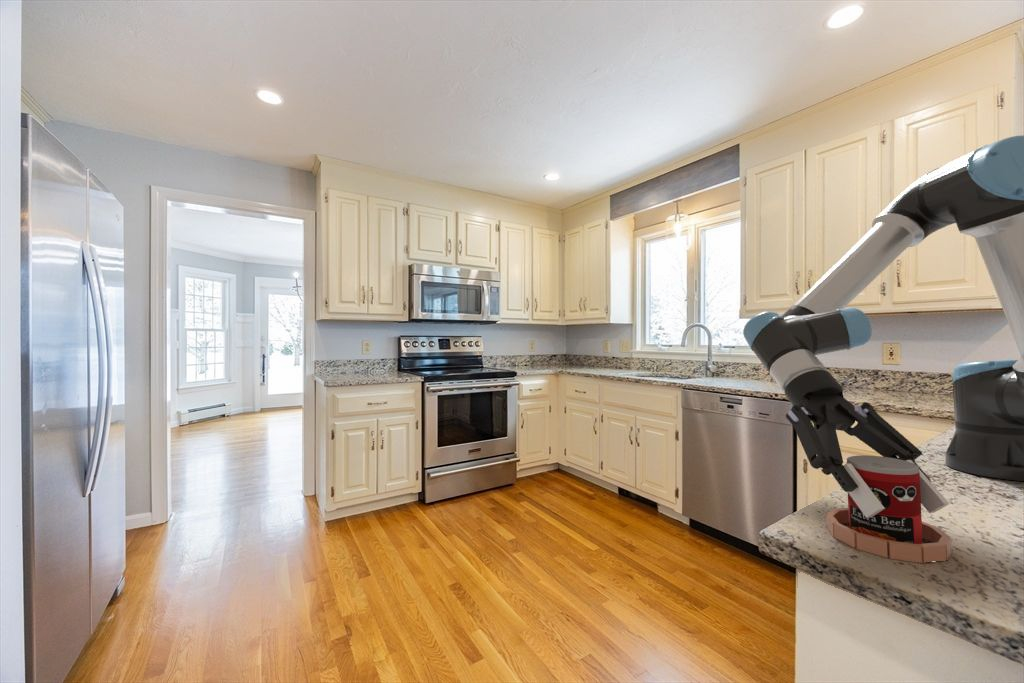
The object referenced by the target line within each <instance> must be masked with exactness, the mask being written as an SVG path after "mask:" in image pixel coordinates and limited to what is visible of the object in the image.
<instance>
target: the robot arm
mask: <svg viewBox="0 0 1024 683" xmlns="http://www.w3.org/2000/svg"><path fill="white" fill-rule="evenodd" d="M952 224H956V227H957V229H958V231H959V233H961V234H964V235H967V236H971V237H973V238H974V240H975V242H976V245H977V247H978V249H979V252H980V255H981V257H982V260H983V262H984V264H985V267H986V269H987V270H986V271H987V272H988V275H989V277H990V280H991V283H992V284H993V285H992V286H993V287H994V290H995V292H996V296H997V298H998V301H999V304H1000V306H1001V307H1002V310H1003V313H1004V316H1005V318H1006V321H1007V323H1008V326H1009V328H1010V331H1011V333H1012V336H1013V338H1014V341H1015V344H1016V345H1017V346H1016V347H1017V349H1018V352H1019V354H1020V358H1019V359H1007V360H1006V359H1005V360H1002V359H1001V360H991V361H989V360H988V361H987V360H986V361H975V362H974V361H973V362H964V363H960V364H958V365H956V366H955V367H954V368H953V375H952V376H953V378H952V381H951V384H952V395H953V396H952V397H953V409H954V410H953V411H954V425H955V426H954V433H953V436H952V438H951V440H950V443H949V444H948V447H947V449H946V451H945V453H944V454H945V455H944V458H945V459H944V460H945V466H946V467H949V468H951V469H954V470H956V471H960V472H964V473H968V474H974V475H977V476H983V477H989V478H993V479H994V478H995V479H1001V480H1009V481H1018V482H1024V134H1022V135H1014V136H1009V137H1006V138H1005V137H1004V138H1003V139H1000V140H998V141H994V142H992V143H990V144H985V145H984V146H982V147H980V148H978V149H975V150H974V151H971V152H969V153H967V154H965V155H963V156H961V157H959V158H957V159H955V160H953V161H950V162H948V163H947V164H944V165H942V166H940V167H938V168H937V167H936V168H935V169H933V170H931V171H929V172H927V173H925V174H924V175H921V176H920V177H919V178H917V179H916V180H915V181H913V182H912V183H910V185H909V186H907V188H905V189H904V190H903V191H902V192H901V193H899V195H897V196H896V197H895V198H894V199H893V200H892V201H891V202H890V203H889V204H888V205H887V206H886V207H885V208H884V209H883V210H882V211H881V212H880V213H879V214H878V215H877V216H876V217H875V218H874V219H873V220H872V223H871V229H869V231H868V232H866V234H864V236H862V237H861V239H859V241H857V243H856V244H854V246H852V247H851V249H849V250H848V251H847V252H846V254H845V253H844V255H843V256H842V257H841V258H840V259H839V260H838V261H837V262H836V263H835V264H834V265H833V266H832V267H831V268H829V270H828V271H827V272H826V273H825V274H824V275H822V277H821V278H820V279H819V280H818V281H816V283H815V284H814V285H813V286H811V287H810V289H808V290H807V291H806V292H805V293H804V294H803V295H802V296H801V297H800V298H799V299H798V300H797V301H796V302H795V303H794V304H793V305H792V306H791V307H789V309H787V311H786V312H784V313H783V314H782V315H780V314H779V313H777V312H773V311H763V312H760V313H758V314H756V315H754V316H753V317H752V318H750V319H749V320H748V321H747V322H746V324H745V325H744V326H743V330H742V334H743V337H744V339H745V341H746V342H747V344H748V346H749V348H750V349H751V351H752V352H753V353H754V354H755V356H756V357H757V358H758V359H759V361H760V363H761V364H762V366H764V368H765V369H766V371H768V373H769V374H770V376H771V377H772V379H773V380H774V381H775V382H776V384H777V385H778V386H779V388H780V390H782V391H783V392H784V395H785V397H786V398H787V400H788V401H789V402H790V404H791V405H792V407H791V408H790V409H789V411H788V412H787V413H786V414H785V418H786V419H787V421H788V422H789V423H790V424H791V426H793V428H794V431H795V433H796V435H797V437H798V439H799V442H800V444H801V446H802V449H803V450H804V453H805V456H806V457H807V459H808V462H809V465H810V466H811V467H812V468H813V469H815V470H819V469H820V468H821V469H820V470H821V472H822V473H823V474H824V475H825V476H829V475H832V476H833V478H834V479H835V481H836V482H837V484H838V485H839V486H840V488H841V490H843V491H844V492H845V493H847V494H848V493H849V494H850V496H851V497H852V499H853V500H854V501H855V503H856V504H857V506H858V507H859V508H860V510H861V511H862V513H863V514H864V515H865V517H866V518H870V517H873V516H874V515H876V514H877V513H879V512H880V511H882V510H883V509H885V508H884V507H883V505H882V504H881V503H880V501H879V500H878V499H877V497H876V496H875V495H874V494H873V492H872V491H871V490H870V488H869V487H868V486H867V484H866V483H865V482H864V480H863V479H862V478H861V476H860V475H859V474H858V472H857V471H856V470H855V468H854V467H853V466H852V464H851V463H850V464H846V463H845V464H844V460H843V454H842V451H841V447H840V443H839V442H840V441H839V437H838V434H837V431H842V432H844V433H845V434H847V435H849V436H854V437H855V438H857V439H858V440H860V441H861V442H863V443H864V444H865V445H867V446H868V447H869V448H870V449H872V450H873V451H875V452H876V453H877V454H879V455H881V457H888V458H895V459H900V460H904V461H908V462H911V463H913V464H915V465H917V466H918V467H919V472H920V490H921V506H923V507H924V509H925V510H926V511H927V512H928V513H929V514H933V513H936V512H938V511H939V510H941V509H943V508H945V507H947V506H949V505H950V502H949V501H948V500H947V499H946V498H945V496H944V495H943V494H942V493H941V492H940V491H939V489H937V487H936V486H935V485H934V484H933V483H932V480H931V479H930V477H929V476H928V475H927V474H926V473H925V472H924V470H923V469H922V468H921V467H920V466H919V465H918V464H917V462H916V460H917V459H918V458H919V457H921V456H922V455H923V452H922V451H921V450H920V449H919V448H918V447H917V446H916V445H915V444H913V443H912V442H911V441H910V440H909V439H908V438H906V437H905V436H904V435H903V434H902V433H901V432H900V431H898V430H897V429H896V428H894V427H893V426H892V425H891V424H890V423H889V422H888V421H887V420H886V419H885V418H883V417H882V416H881V415H880V414H878V412H877V411H876V409H875V408H874V407H873V406H872V404H870V403H869V402H863V403H862V404H861V405H858V404H857V405H855V404H853V403H852V402H850V401H849V400H847V399H846V398H845V397H844V393H843V391H844V390H843V386H842V385H841V384H840V382H838V380H837V379H836V378H835V377H834V376H833V375H832V373H831V372H830V371H828V370H827V367H826V366H825V365H824V364H823V362H822V361H821V360H820V359H819V358H818V357H817V355H822V354H823V355H824V354H829V353H834V352H838V351H845V350H847V351H849V350H851V349H853V348H857V347H861V346H864V345H866V344H867V343H868V342H869V341H870V339H871V337H872V333H873V328H872V325H871V320H870V318H869V317H868V316H867V314H866V312H864V311H862V310H861V309H860V308H856V307H847V306H848V305H849V304H850V303H852V301H853V300H855V298H856V297H857V296H858V295H859V294H861V293H862V292H863V290H865V289H866V288H867V287H868V286H869V285H870V284H871V283H872V282H873V281H874V280H875V279H876V278H877V277H879V275H880V274H881V273H883V272H884V271H885V270H886V269H887V268H888V267H889V266H890V265H891V264H892V263H893V262H894V261H895V260H896V259H897V258H898V257H899V256H900V255H902V253H903V252H904V251H906V250H907V249H908V248H913V247H916V246H919V244H921V243H922V242H923V241H924V240H925V239H926V238H927V237H928V236H930V235H932V234H933V233H935V232H937V231H939V230H941V229H943V228H946V227H948V226H951V225H952ZM846 307H847V308H846ZM856 422H857V424H855V423H856ZM854 424H855V425H854ZM852 426H853V427H852ZM843 464H844V465H843Z"/></svg>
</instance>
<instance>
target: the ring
mask: <svg viewBox="0 0 1024 683" xmlns="http://www.w3.org/2000/svg"><path fill="white" fill-rule="evenodd" d="M844 524H849V513H848V507H840V508H833V509H831V510H830V511H828V512H827V513H826V529H827V530H828V532H829V533H830V534H831V536H832V537H833V538H834V539H836V540H838V541H840V542H842V543H844V544H846V545H848V546H850V547H852V548H854V549H857V550H860V551H863V552H866V553H869V554H870V553H871V554H873V555H876V556H880V557H883V558H887V559H888V558H889V559H890V560H891V559H892V560H897V561H898V560H899V561H905V562H911V563H918V562H919V564H926V563H925V562H932V561H944V562H947V561H946V560H948V561H949V559H948V558H950V557H951V555H952V536H950V535H948V533H946V532H945V531H943V530H942V529H941V528H939V527H938V526H935V525H933V524H930V523H927V522H925V521H922V537H923V538H922V539H924V538H925V539H924V540H927V539H928V540H927V541H929V540H931V541H932V542H933V543H932V542H931V541H930V542H928V543H926V542H925V543H922V544H912V543H905V542H897V541H889V540H885V539H881V538H877V537H874V536H870V535H866V534H863V533H859V532H857V531H855V530H853V529H850V528H849V526H846V525H844ZM920 562H921V563H920Z"/></svg>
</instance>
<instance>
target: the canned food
mask: <svg viewBox="0 0 1024 683" xmlns="http://www.w3.org/2000/svg"><path fill="white" fill-rule="evenodd" d="M850 463H851V464H852V466H853V467H854V468H855V470H856V471H857V472H858V474H859V475H860V476H861V478H862V479H863V480H864V482H865V483H866V484H867V486H868V487H869V488H870V490H871V491H872V492H873V494H874V495H875V496H876V497H877V499H878V500H879V501H880V503H881V504H882V505H883V507H884V508H885V509H883V510H882V511H880V512H879V513H877V514H876V515H874V516H873V517H870V518H866V517H865V515H864V514H863V513H862V511H861V510H860V508H859V507H858V506H857V504H856V503H855V501H854V500H853V499H852V497H851V496H850V494H849V493H848V492H847V508H848V513H849V523H848V528H850V529H853V530H855V531H857V532H859V533H863V534H866V535H870V536H874V537H877V538H881V539H885V540H889V541H897V542H905V543H912V544H923V538H922V522H923V521H922V518H923V517H922V504H921V490H920V472H919V467H920V466H919V465H918V464H917V465H918V466H919V467H918V466H917V465H915V464H913V463H911V462H908V461H904V460H900V459H895V458H888V457H883V456H882V455H881V456H879V455H852V456H848V457H847V458H846V463H845V464H850Z"/></svg>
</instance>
